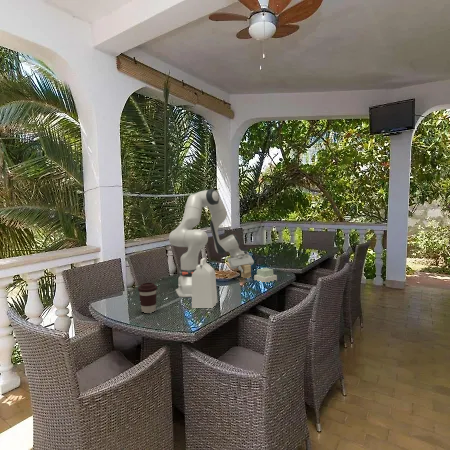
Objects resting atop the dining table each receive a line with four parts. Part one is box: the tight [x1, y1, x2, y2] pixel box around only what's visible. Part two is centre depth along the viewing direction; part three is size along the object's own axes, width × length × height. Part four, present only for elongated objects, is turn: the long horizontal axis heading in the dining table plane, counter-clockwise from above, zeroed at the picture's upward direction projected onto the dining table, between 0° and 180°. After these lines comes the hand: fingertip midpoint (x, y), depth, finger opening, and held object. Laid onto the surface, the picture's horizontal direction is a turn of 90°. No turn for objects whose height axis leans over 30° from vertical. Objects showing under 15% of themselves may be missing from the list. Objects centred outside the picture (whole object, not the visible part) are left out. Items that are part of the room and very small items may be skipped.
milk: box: [191, 257, 218, 309], centre depth 194 cm, size 12×12×26 cm
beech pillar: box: [240, 265, 252, 279], centre depth 254 cm, size 5×5×9 cm
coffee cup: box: [137, 282, 158, 314], centre depth 187 cm, size 10×10×15 cm
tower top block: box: [256, 267, 274, 277], centre depth 245 cm, size 8×8×4 cm
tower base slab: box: [253, 274, 278, 284], centre depth 245 cm, size 11×11×4 cm
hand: (246, 271), depth 254 cm, fingers closed on beech pillar, 5 cm apart
